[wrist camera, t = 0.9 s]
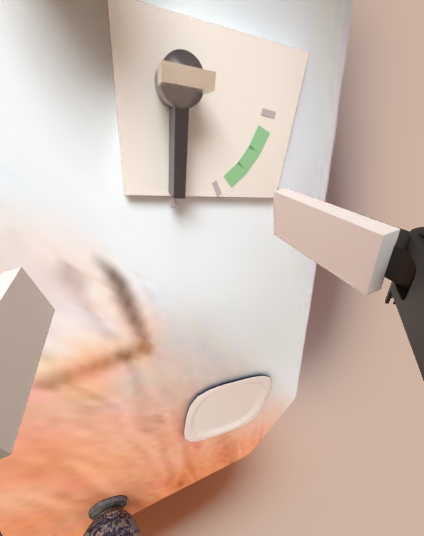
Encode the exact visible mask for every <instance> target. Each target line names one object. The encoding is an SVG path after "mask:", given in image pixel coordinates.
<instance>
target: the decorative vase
mask: <svg viewBox="0 0 424 536" xmlns="http://www.w3.org/2000/svg"><path fill="white" fill-rule="evenodd" d="M126 503H127V497H126V496H122V495H121V496H115V497H111V498H108V499H105V500H103V501H101V502H99V503H97V504H96V505H94V506H93V507H92V508H91V509H90V511H89V517H90V518H91V519H92V520H94V521H93V522H92V524H91V525H90V526H89V528H88V529H87V531H86V532H85V534H84V536H141V532H140V530H139V527H138V525H137V523H136V521H135V520H134V518H133V517H132V515H131V514H130V513H128V512H127V511H125V510H123V508H124V507H125V505H126Z"/></svg>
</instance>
